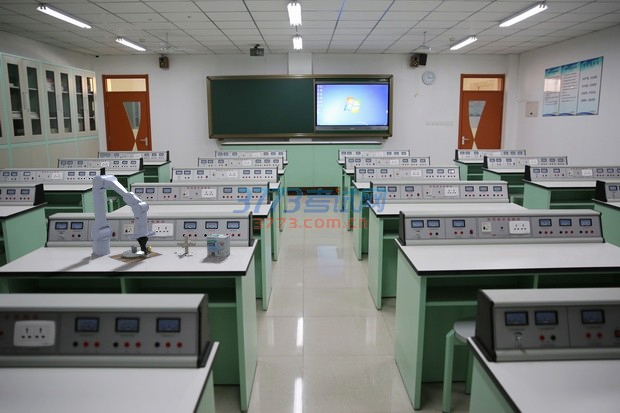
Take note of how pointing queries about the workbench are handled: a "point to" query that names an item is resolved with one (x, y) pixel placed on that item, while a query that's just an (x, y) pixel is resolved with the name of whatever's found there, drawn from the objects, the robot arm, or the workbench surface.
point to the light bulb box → (218, 245)
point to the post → (134, 248)
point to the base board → (131, 260)
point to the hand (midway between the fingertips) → (143, 251)
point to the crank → (136, 253)
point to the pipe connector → (186, 243)
